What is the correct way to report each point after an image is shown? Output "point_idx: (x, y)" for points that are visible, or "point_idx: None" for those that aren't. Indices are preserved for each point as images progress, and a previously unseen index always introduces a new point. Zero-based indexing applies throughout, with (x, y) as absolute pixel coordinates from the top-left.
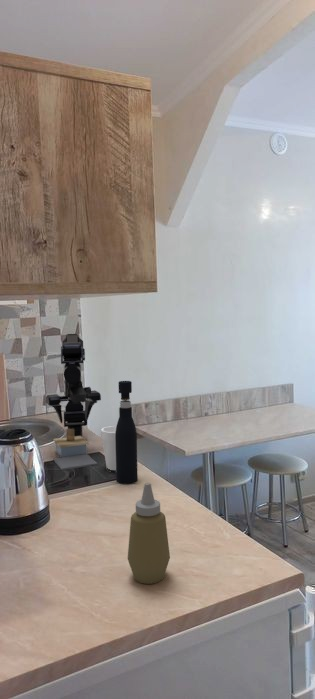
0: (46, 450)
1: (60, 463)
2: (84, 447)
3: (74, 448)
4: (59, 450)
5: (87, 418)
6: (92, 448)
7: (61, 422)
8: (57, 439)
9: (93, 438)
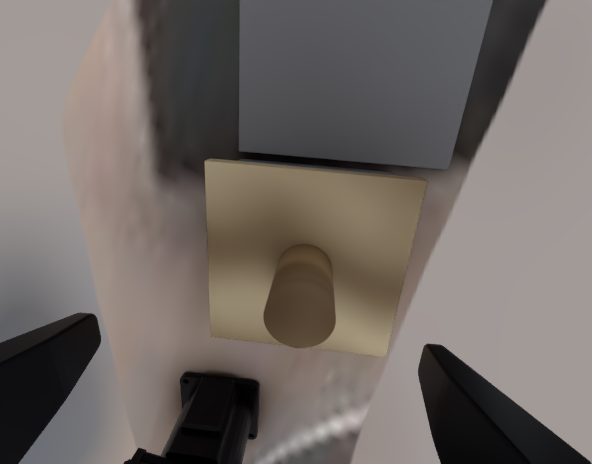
0: (393, 344)
1: (464, 31)
2: None
3: None
4: None
5: (64, 321)
6: (179, 257)
7: (444, 348)
8: (371, 334)
9: (138, 392)
